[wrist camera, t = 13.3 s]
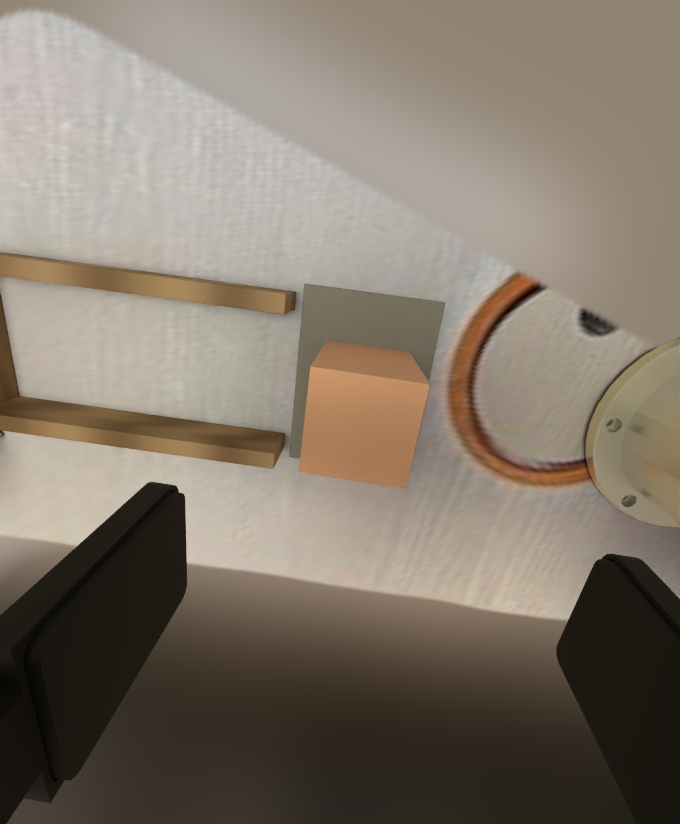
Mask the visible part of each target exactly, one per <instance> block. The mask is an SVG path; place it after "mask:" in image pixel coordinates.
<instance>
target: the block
mask: <svg viewBox="0 0 680 824" xmlns="http://www.w3.org/2000/svg"><path fill="white" fill-rule="evenodd" d="M429 387H430V384H429V382H428V380H427V379H426V377H425V376H424V374H423V372H422V371H421V369H420V368H419V366H418V364H417V363H416V361H415V360H414V358H413V356H412V355H411V353H409V352H403V351H396V350H389V349H382V348H376V347H369V346H362V345H356V344H349V343H342V342H335V341H329V340H326V342H325V344H324V345H323V347H322V348H321V350H320V352H319V353H318V355H317V357H316V358H315V360H314V362H313V363H312V365H311V366H310V375H309V384H308V393H307V402H306V411H305V420H304V429H303V437H302V446H301V455H300V464H299V472H303V473H310V474H316V475H323V476H329V477H336V478H342V479H349V480H355V481H362V482H368V483H375V484H382V485H388V486H395V487H401V488H406V486H407V482H408V478H409V473H410V469H411V465H412V460H413V456H414V452H415V447H416V443H417V439H418V434H419V430H420V426H421V421H422V417H423V413H424V408H425V404H426V400H427V395H428V391H429Z"/></svg>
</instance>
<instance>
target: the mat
mask: <svg viewBox="0 0 680 824" xmlns="http://www.w3.org/2000/svg"><path fill="white" fill-rule="evenodd" d="M444 306H445V303H444V302H436V301H429V300H421V299H414V298H406V297H399V296H391V295H384V294H376V293H369V292H361V291H354V290H346V289H339V288H331V287H324V286H316V285H309V284H304V296H303V307H302V319H301V330H300V342H299V353H298V365H297V377H296V388H295V400H294V411H293V423H292V434H291V446H290V457H294V458H300V455H301V446H302V437H303V429H304V420H305V411H306V402H307V393H308V384H309V375H310V366H311V365H312V363H313V362H314V360H315V358H316V357H317V355H318V353H319V352H320V350H321V348H322V347H323V345H324V344H325V342H326V340H329V341H335V342H342V343H349V344H356V345H362V346H369V347H376V348H382V349H389V350H396V351H403V352H409V353H411V355H412V356H413V358H414V360H415V361H416V363H417V364H418V366H419V368H420V369H421V371H422V372H423V374H424V376H425V377H426V379H427V380H429V376H430V371H431V366H432V362H433V357H434V352H435V348H436V343H437V338H438V334H439V329H440V324H441V320H442V315H443V310H444Z"/></svg>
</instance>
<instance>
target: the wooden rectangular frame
mask: <svg viewBox="0 0 680 824" xmlns="http://www.w3.org/2000/svg"><path fill="white" fill-rule="evenodd" d="M0 276H4V277H12V278H19V279H26V280H34V281H41V282H49V283H56V284H63V285H71V286H78V287H86V288H93V289H100V290H108V291H115V292H123V293H130V294H138V295H145V296H152V297H160V298H167V299H175V300H182V301H189V302H197V303H204V304H212V305H219V306H226V307H234V308H241V309H249V310H256V311H263V312H271V313H278V314H286V313H288V312H290V311H293V310H295V298H296V292H293V291H285V290H278V289H270V288H263V287H255V286H248V285H240V284H233V283H225V282H218V281H211V280H203V279H196V278H188V277H181V276H173V275H166V274H158V273H151V272H143V271H136V270H128V269H121V268H114V267H106V266H99V265H91V264H84V263H76V262H69V261H61V260H54V259H46V258H39V257H31V256H24V255H16V254H9V253H2V252H0ZM0 430H2V431H9V432H17V433H24V434H31V435H38V436H45V437H52V438H59V439H66V440H73V441H80V442H87V443H94V444H101V445H108V446H116V447H123V448H130V449H137V450H144V451H151V452H158V453H165V454H172V455H179V456H186V457H193V458H200V459H207V460H215V461H222V462H229V463H236V464H243V465H250V466H257V467H264V468H271V469H273V468H274V466H275V464H276V462H277V460H278V458H279V456H280V454H281V452H282V450H283V447H284V436H285V434H284V433H276V432H269V431H262V430H255V429H248V428H241V427H234V426H226V425H219V424H212V423H205V422H198V421H191V420H184V419H176V418H169V417H162V416H155V415H148V414H141V413H134V412H126V411H119V410H112V409H105V408H98V407H91V406H83V405H76V404H69V403H62V402H55V401H48V400H41V399H33V398H26V397H19V393H18V388H17V383H16V377H15V372H14V366H13V361H12V356H11V350H10V345H9V340H8V334H7V329H6V323H5V318H4V313H3V307H2V302H1V297H0Z"/></svg>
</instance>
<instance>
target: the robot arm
mask: <svg viewBox="0 0 680 824" xmlns="http://www.w3.org/2000/svg"><path fill="white" fill-rule="evenodd" d="M586 461H587V465H588V470H589V474H590V476H591V478H592V479H593V481H594V483H595V485H596V487H597V488H598V489H599V491H600V492H601V493H602V494H603V495H604V496H605V497H606V499H607V500H609V501H610V502H611V503H612V504H613V505H614V506H615V507H616V508H618V509H619V510H620V511H622V512H624V513H625V514H627V515H629V516H631V517H632V518H634V519H636V520H639V521H643V522H646V523H649V524H652V525H658V526H665V527H680V337H679V338H677V339H674V340H671V341H669V342H666V343H665V344H663V345H661V346H659V347H658V348H656V349H654V350H652V351H651V352H649V353H647V354H645V355H644V356H643V357H641V358H640V359H639V360H638V361H636V362H635V363H634V364H633V365H631V366H630V367H629V368H627V369H626V370H625V371H624V372H623V373H622V374H621V375H620V377H619V378H618V379H617V380H616V381H615V382H614V383H613V384H612V385H611V386H610V387H609V389H608V390H607V392H606V393H605V395H604V396H603V398H602V399H601V401H600V402H599V404H598V406H597V408H596V410H595V412H594V415H593V417H592V419H591V421H590V425H589V429H588V433H587V438H586ZM186 586H187V562H186V521H185V496H184V494H182V493H179V491H178V488H177V487H176V486H175V485H168V484H162V483H156V482H149V483H147V484H146V485H145V486H144V487H143V488H141V489H140V490H139V491H138V492H137V493H136V494H135V495H134V496H133V497H131V498H130V499H129V500H128V501H127V502H126V503H125V504H124V505H123V506H121V507H120V508H119V509H118V510H117V511H116V512H115V513H114V514H113V515H111V516H110V517H109V518H108V519H107V520H106V521H105V522H104V523H103V524H101V525H100V526H99V527H98V528H97V529H96V530H95V531H94V532H93V533H91V534H90V535H89V536H88V537H87V538H86V539H85V540H84V541H83V542H81V543H80V544H79V545H78V546H77V547H76V548H75V549H74V550H73V551H72V552H71V553H69V554H68V555H67V556H66V557H65V558H64V559H63V560H61V561H60V562H59V563H58V564H57V565H56V566H55V567H54V568H53V569H51V570H50V571H49V572H48V573H47V574H46V575H45V576H44V577H43V578H41V579H40V580H39V581H38V582H37V583H36V584H35V585H34V586H33V587H32V588H30V589H29V590H28V591H27V592H26V593H25V594H24V595H23V596H22V597H21V598H19V599H18V600H17V601H16V602H15V603H14V604H13V605H12V606H10V607H9V608H8V609H7V610H6V611H5V612H4V613H3V614H1V615H0V824H6V823H7V822H8V820H9V819H10V818H11V816H12V815H13V813H14V811H15V810H16V809H17V807H18V806H19V804H20V803H21V801H22V800H23V798H26V799H31V800H37V801H42V802H47V803H51V801H52V800H53V798H54V796H55V795H56V793H57V791H58V789H59V788H60V787H61V785H62V783H63V782H64V780H71V779H72V778H74V777H75V776H76V775H77V773H78V772H79V771H80V770H81V768H82V767H83V765H84V763H85V762H86V760H87V758H88V757H89V755H90V753H91V752H92V750H93V748H94V747H95V745H96V743H97V742H98V740H99V738H100V736H101V735H102V733H103V732H104V730H105V728H106V726H107V725H108V723H109V722H110V720H111V718H112V717H113V715H114V713H115V711H116V710H117V708H118V706H119V705H120V703H121V701H122V700H123V698H124V696H125V695H126V693H127V691H128V690H129V688H130V686H131V685H132V683H133V681H134V679H135V678H136V676H137V675H138V673H139V671H140V670H141V668H142V666H143V665H144V663H145V661H146V660H147V658H148V656H149V654H150V653H151V651H152V650H153V648H154V646H155V644H156V643H157V641H158V639H159V638H160V636H161V634H162V633H163V631H164V629H165V628H166V626H167V624H168V623H169V621H170V619H171V618H172V616H173V614H174V612H175V611H176V609H177V608H178V606H179V604H180V603H181V601H182V599H183V597H184V594H185V591H186ZM557 659H558V662H559V665H560V667H561V669H562V671H563V673H564V675H565V677H566V679H567V681H568V683H569V685H570V687H571V690H572V691H573V694H574V696H575V698H576V700H577V702H578V704H579V706H580V708H581V710H582V712H583V714H584V716H585V718H586V721H587V723H588V724H589V726H590V729H591V731H592V733H593V735H594V737H595V739H596V741H597V743H598V745H599V747H600V749H601V751H602V753H603V756H604V757H605V760H606V762H607V764H608V766H609V768H610V770H611V772H612V774H613V776H614V778H615V780H616V782H617V784H618V787H619V788H620V790H621V793H622V795H623V797H624V799H625V801H626V803H627V805H628V807H629V809H630V811H631V813H632V815H633V817H634V820H635V822H636V824H680V599H679V598H678V597H677V596H676V595H675V594H674V593H673V592H672V591H671V590H670V588H669V587H668V586H667V585H666V584H665V583H664V582H663V581H662V580H661V579H660V578H659V577H658V576H657V575H656V574H655V573H654V572H653V571H652V570H651V569H650V568H649V567H648V566H647V565H646V563H644V562H643V561H642V560H641V559H638V558H634V557H628V556H621V555H615V554H607V555H605V556H604V557H603V558H602V559H599V560H597V561H596V562H595V564H594V566H593V568H592V570H591V572H590V574H589V577H588V579H587V581H586V583H585V585H584V587H583V590H582V592H581V594H580V596H579V598H578V601H577V603H576V605H575V607H574V609H573V611H572V614H571V616H570V618H569V620H568V622H567V625H566V627H565V629H564V631H563V633H562V635H561V638H560V640H559V642H558V645H557Z"/></svg>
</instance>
